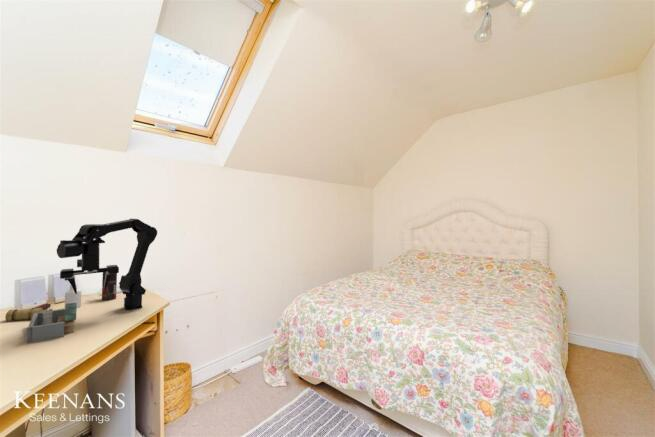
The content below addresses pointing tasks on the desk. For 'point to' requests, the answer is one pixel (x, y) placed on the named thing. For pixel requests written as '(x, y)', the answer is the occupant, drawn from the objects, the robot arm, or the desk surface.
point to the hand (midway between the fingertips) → (90, 291)
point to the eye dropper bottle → (73, 296)
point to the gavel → (25, 313)
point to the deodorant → (109, 288)
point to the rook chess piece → (47, 316)
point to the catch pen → (45, 327)
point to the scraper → (69, 317)
